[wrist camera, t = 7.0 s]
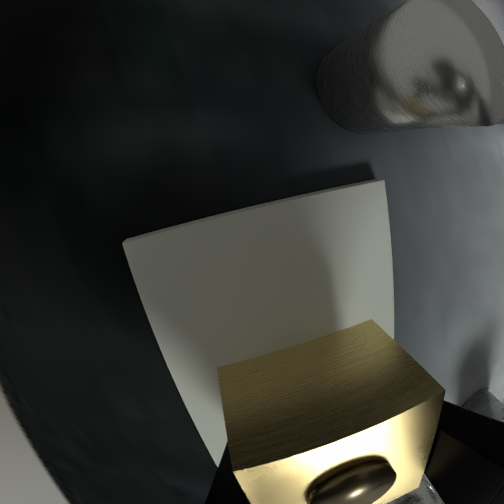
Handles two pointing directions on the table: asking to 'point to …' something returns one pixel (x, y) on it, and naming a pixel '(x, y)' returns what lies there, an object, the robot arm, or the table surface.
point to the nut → (330, 420)
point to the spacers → (419, 97)
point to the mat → (262, 285)
